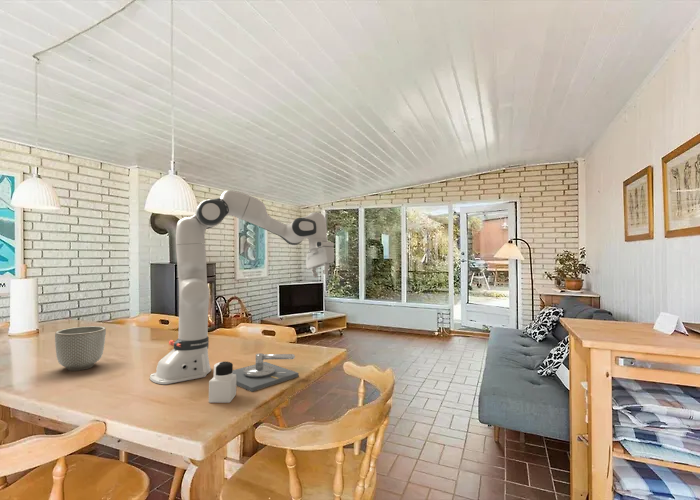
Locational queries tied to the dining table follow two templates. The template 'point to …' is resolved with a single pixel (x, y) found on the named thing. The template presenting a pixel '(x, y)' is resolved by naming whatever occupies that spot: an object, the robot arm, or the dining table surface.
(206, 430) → the dining table surface
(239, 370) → the base plate
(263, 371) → the capstan dial
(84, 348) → the planter
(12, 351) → the dining table surface
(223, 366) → the medicine bottle
